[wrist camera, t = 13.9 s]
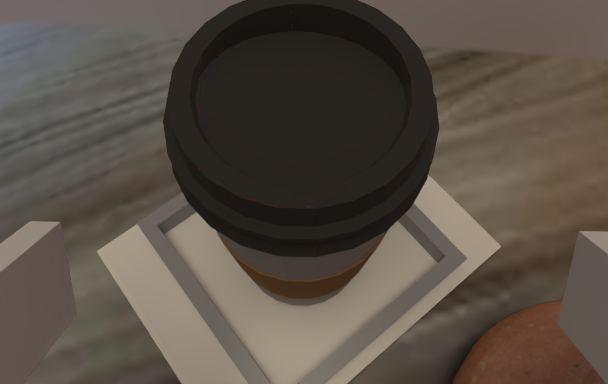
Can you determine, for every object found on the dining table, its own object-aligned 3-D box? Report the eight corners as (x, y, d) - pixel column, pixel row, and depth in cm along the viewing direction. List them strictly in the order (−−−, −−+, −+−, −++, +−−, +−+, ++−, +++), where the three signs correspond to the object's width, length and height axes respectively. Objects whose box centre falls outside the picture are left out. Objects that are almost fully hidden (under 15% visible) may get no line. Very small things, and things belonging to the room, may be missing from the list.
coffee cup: (244, 174, 29) (191, -38, 15) (382, 194, 28) (458, -7, 14) (212, 313, 25) (104, 203, 11) (368, 339, 25) (450, 255, 11)
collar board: (103, 256, 27) (85, 243, 25) (339, 96, 32) (342, 73, 30) (244, 474, 23) (237, 481, 21) (494, 251, 28) (511, 238, 25)
